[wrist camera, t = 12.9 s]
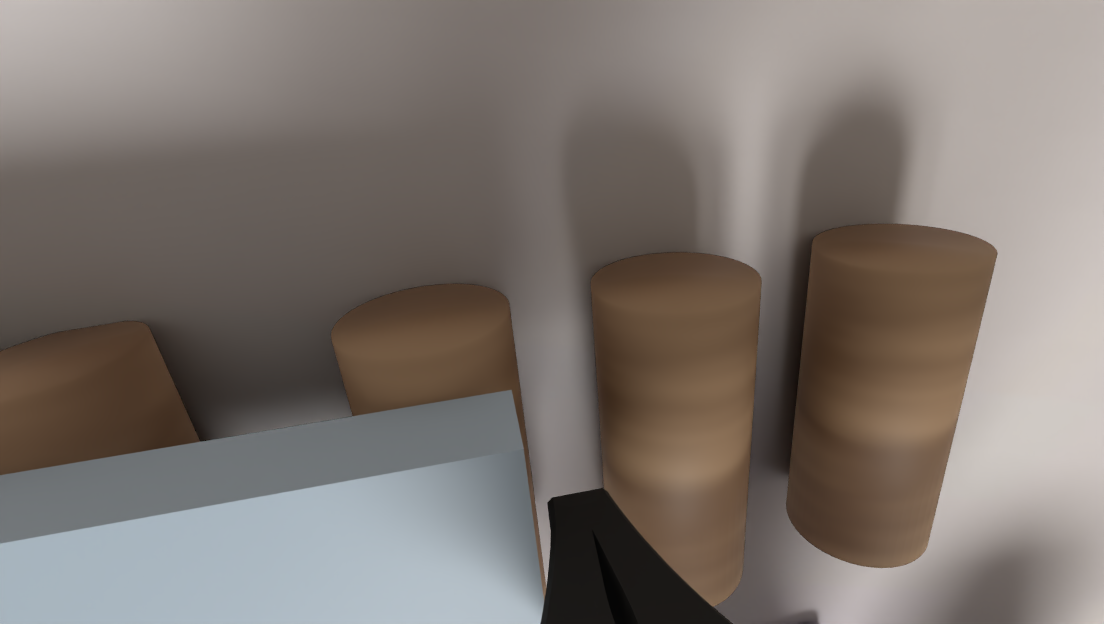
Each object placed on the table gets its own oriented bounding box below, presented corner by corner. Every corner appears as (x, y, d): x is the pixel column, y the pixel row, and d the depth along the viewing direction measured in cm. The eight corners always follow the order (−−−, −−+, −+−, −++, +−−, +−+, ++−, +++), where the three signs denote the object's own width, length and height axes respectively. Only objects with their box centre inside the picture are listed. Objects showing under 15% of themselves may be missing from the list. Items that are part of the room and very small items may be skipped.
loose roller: (301, 603, 16) (178, 736, 13) (215, 569, 18) (88, 682, 15) (185, 327, 13) (-19, 422, 10) (91, 315, 14) (-112, 394, 11)
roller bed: (868, 465, 20) (962, 552, 16) (1, 638, 17) (-125, 796, 13) (910, 217, 16) (1043, 257, 13) (-188, 372, 13) (-434, 488, 9)
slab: (543, 626, 14) (558, 706, 12) (25, 740, 13) (-45, 850, 11) (511, 389, 11) (523, 448, 10) (-158, 501, 10) (-292, 596, 8)
